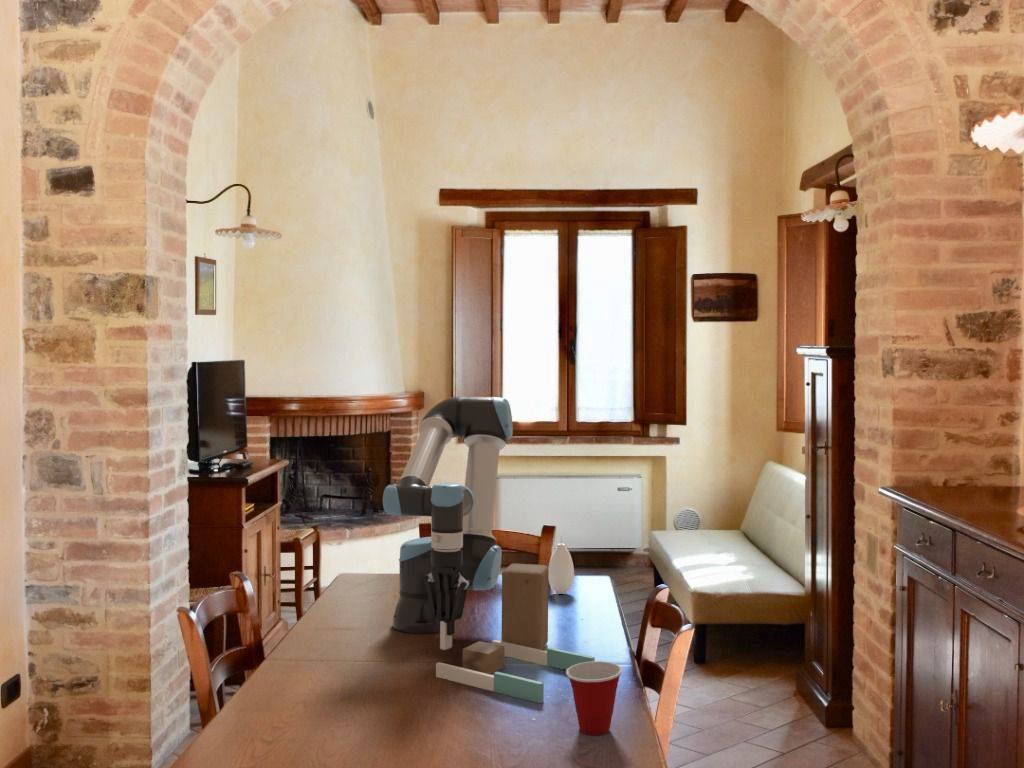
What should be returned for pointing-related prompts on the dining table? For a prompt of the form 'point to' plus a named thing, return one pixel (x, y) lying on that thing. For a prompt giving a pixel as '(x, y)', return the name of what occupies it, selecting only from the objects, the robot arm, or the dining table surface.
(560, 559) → the sauce bottle
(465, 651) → the walnut block
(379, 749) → the dining table surface
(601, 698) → the plastic cup
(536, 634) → the wooden block
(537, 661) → the walled lane
